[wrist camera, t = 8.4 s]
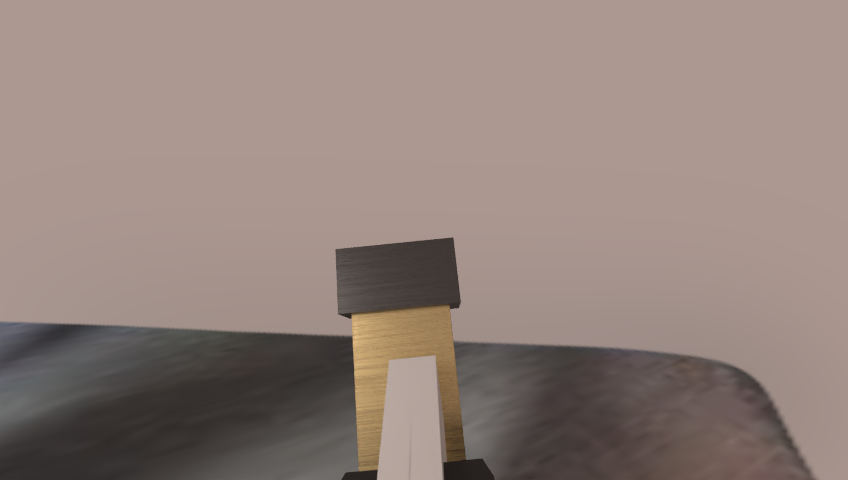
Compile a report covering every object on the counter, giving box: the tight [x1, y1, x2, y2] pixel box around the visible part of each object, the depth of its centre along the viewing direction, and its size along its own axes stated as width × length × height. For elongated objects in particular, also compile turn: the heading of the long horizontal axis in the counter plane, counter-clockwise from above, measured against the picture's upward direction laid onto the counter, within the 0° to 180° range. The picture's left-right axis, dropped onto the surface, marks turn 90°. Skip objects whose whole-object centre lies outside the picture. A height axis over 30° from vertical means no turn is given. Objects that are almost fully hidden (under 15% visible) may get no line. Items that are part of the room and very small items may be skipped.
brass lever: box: [336, 238, 466, 471], centre depth 15 cm, size 4×2×14 cm
